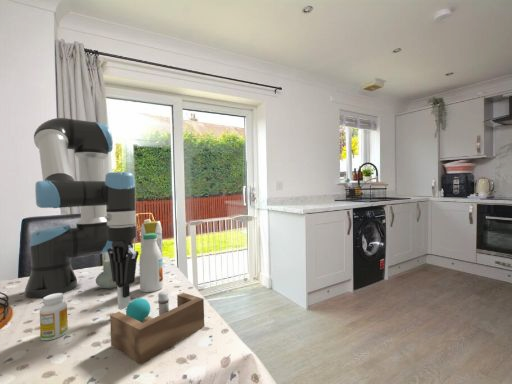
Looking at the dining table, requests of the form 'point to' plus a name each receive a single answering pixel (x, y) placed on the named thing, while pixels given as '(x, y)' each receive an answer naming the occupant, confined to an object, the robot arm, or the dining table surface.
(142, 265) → the milk bottle
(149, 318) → the beech pin
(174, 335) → the walnut backstop
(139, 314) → the ball
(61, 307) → the supplement bottle
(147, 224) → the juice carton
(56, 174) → the robot arm
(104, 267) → the air freshener
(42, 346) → the dining table surface
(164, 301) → the grey pin
